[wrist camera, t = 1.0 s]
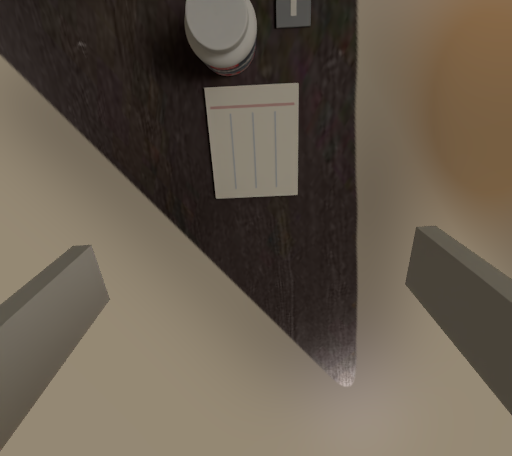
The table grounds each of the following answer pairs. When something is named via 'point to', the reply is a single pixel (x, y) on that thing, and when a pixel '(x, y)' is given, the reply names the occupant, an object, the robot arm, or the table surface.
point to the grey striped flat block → (293, 13)
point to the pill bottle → (222, 33)
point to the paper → (254, 139)
